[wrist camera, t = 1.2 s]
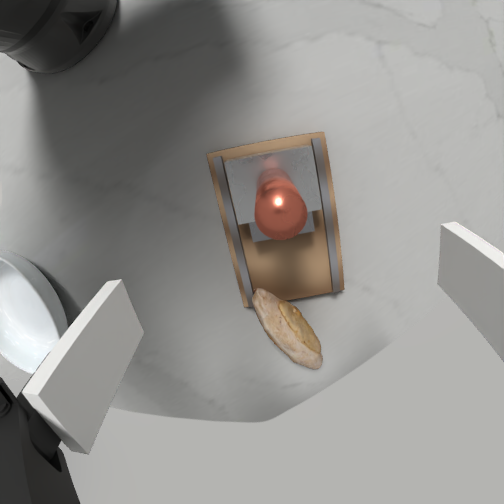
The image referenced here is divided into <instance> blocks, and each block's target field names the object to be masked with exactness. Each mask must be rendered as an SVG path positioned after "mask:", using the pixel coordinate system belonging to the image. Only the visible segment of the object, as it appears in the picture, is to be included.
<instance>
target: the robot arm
mask: <svg viewBox="0 0 504 504" xmlns="http://www.w3.org/2000/svg"><path fill="white" fill-rule="evenodd" d="M116 4H117V0H0V52H2V53H5V54H7V55H8V56H9V57H10V58H12V59H14V60H16V61H17V62H18V63H19V64H20V65H21V66H22V67H23V68H25V69H27V70H29V71H32V72H38V73H45V74H50V73H56V72H60V71H63V70H65V69H67V68H69V67H71V66H73V65H74V64H76V63H77V62H79V61H80V60H81V59H83V58H84V57H85V56H86V55H87V54H88V53H89V52H90V51H91V50H92V49H93V48H94V47H95V46H96V45H97V43H98V42H99V41H100V40H101V38H102V37H103V35H104V34H105V32H106V30H107V29H108V27H109V25H110V23H111V21H112V18H113V16H114V13H115V9H116ZM437 284H438V285H439V286H440V287H441V288H442V290H443V291H444V292H445V293H446V294H447V295H448V296H449V297H450V298H451V299H452V300H453V301H454V303H456V305H457V306H458V307H459V308H460V309H461V310H462V312H463V313H464V314H465V315H466V316H467V317H468V318H469V320H470V321H471V322H472V323H473V324H474V326H475V327H476V328H477V329H478V330H479V331H480V333H481V334H482V335H483V336H484V338H485V339H486V340H487V341H488V343H489V344H490V345H491V346H492V347H493V349H494V350H495V351H496V352H497V354H498V355H499V356H500V358H501V359H502V360H503V362H504V254H503V253H502V252H501V251H500V250H498V249H497V248H495V247H494V246H492V245H491V244H489V243H488V242H486V241H485V240H483V239H482V238H480V237H479V236H477V235H476V234H474V233H473V232H471V231H469V230H468V229H466V228H465V227H463V226H461V225H460V224H458V223H457V222H451V223H445V224H441V236H440V257H439V271H438V283H437ZM143 335H144V331H143V329H142V327H141V324H140V322H139V320H138V317H137V315H136V313H135V310H134V308H133V306H132V303H131V301H130V298H129V296H128V293H127V291H126V288H125V286H124V283H123V281H122V279H120V280H114V281H107V282H106V283H105V285H104V286H103V287H102V288H101V289H100V290H99V292H98V293H97V294H96V295H95V296H94V298H93V299H92V300H91V301H90V302H89V304H88V305H87V306H86V307H85V308H84V310H83V311H82V312H81V313H80V315H79V316H78V317H77V318H76V319H75V321H74V322H73V323H72V324H71V326H70V327H69V328H68V330H67V331H66V332H65V333H64V335H63V336H62V337H61V339H60V340H59V341H58V342H57V344H56V345H55V346H54V348H53V349H52V350H51V351H50V352H49V353H48V354H47V356H46V357H45V358H44V360H43V361H42V362H41V363H42V364H41V365H39V367H38V368H37V369H36V372H34V373H33V375H32V376H31V378H30V379H29V381H28V382H27V383H26V385H25V386H24V388H23V389H22V391H21V392H20V393H19V395H18V397H17V398H16V397H15V396H14V395H13V393H12V392H11V390H10V389H9V388H8V386H7V385H6V384H5V382H4V381H3V379H2V378H1V377H0V504H80V501H79V499H78V496H77V494H76V491H75V488H74V485H73V482H72V479H71V476H70V473H69V470H68V467H67V463H66V460H65V457H64V454H63V452H62V450H61V449H60V448H59V447H58V446H59V444H60V442H61V440H62V441H63V443H64V444H65V445H66V446H67V447H68V448H69V449H70V450H71V451H74V452H79V453H84V454H89V453H90V451H91V448H92V446H93V444H94V441H95V438H96V437H97V434H98V432H99V429H100V427H101V425H102V422H103V420H104V418H105V416H106V413H107V411H108V409H109V407H110V404H111V402H112V400H113V398H114V396H115V393H116V391H117V389H118V387H119V385H120V383H121V380H122V378H123V376H124V374H125V372H126V370H127V368H128V366H129V363H130V361H131V359H132V357H133V355H134V353H135V351H136V349H137V347H138V345H139V343H140V341H141V339H142V337H143Z"/></svg>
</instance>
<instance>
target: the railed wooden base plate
mask: <svg viewBox="0 0 504 504" xmlns="http://www.w3.org/2000/svg"><path fill="white" fill-rule="evenodd" d="M301 145H310V146H312V150H313V155H314V161H315V167H316V173H317V179H318V185H319V191H320V198H321V205H322V209H321V210H315V211H312V215H313V222H314V229H315V231H313V232H307V233H302V234H297V235H296V236H294V237H292V238H289V239H286V240H276V239H269V240H263V241H258V242H253V240H252V235H251V231H250V226H249V223H245V224H240V225H238V221H237V217H236V212H235V208H234V204H233V199H232V195H231V191H230V186H229V182H228V178H227V173H226V169H225V165H224V162H225V161H226V160H228V159H232V158H237V157H242V156H247V155H252V154H257V153H262V152H267V151H272V150H278V149H283V148H289V147H295V146H301ZM206 155H207V159H208V163H209V167H210V172H211V176H212V180H213V184H214V188H215V193H216V197H217V201H218V205H219V209H220V213H221V217H222V221H223V225H224V229H225V233H226V237H227V241H228V245H229V249H230V253H231V257H232V261H233V265H234V269H235V273H236V277H237V281H238V285H239V289H240V293H241V297H242V300H243V304H244V307H254V305H253V302H252V295H253V290H254V289H257V288H261V289H264V290H266V291H268V292H270V293H272V294H273V295H275V296H276V297H277V298H279V299H280V300H285V301H286V300H292V299H298V298H303V297H309V296H314V295H319V294H325V293H330V292H339V291H340V290H344V277H343V266H342V255H341V245H340V236H339V227H338V219H337V211H336V203H335V196H334V189H333V182H332V176H331V169H330V163H329V157H328V151H327V145H326V139H325V134H324V132H316V133H309V134H303V135H297V136H291V137H285V138H279V139H274V140H268V141H263V142H258V143H253V144H248V145H243V146H238V147H234V148H229V149H224V150H220V151H216V152H211V153H208V154H206Z"/></svg>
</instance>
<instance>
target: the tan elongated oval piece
mask: <svg viewBox="0 0 504 504" xmlns="http://www.w3.org/2000/svg"><path fill="white" fill-rule="evenodd" d="M252 302H253V305H254V308H255V310H256V314H257V316H258V319H259V321H260V323H261V325H262V326H263V328H264V330H265V332H266V333H267V335H268V336H269V338H270V339H271V340H272V341H273V342H274V344H275V345H277V346H278V347H279V348H280V350H282V351H283V352H284V353H285V354H286V355H288V356H289V358H290V359H291V360H292V361H293V362H295V363H298V364H300V365H303V366H306V367H308V368H312V369H318V368H320V366H321V365H322V360H323V358H322V355H321V345H320V342H319V340H318V338H317V336H316V335H315V333H314V331H313V329H312V327H311V326H310V325H309V324H308V323H307V321H306V320H305V319H304V318H303V317H302V315H301V312H300V311H299V310H298V309H297V308H296V307H295V306H293V305H291V304H290V303H289V302H287V301H285V300H280V299H279V298H277V297H276V296H275V295H273V294H272V293H270V292H268V291H266V290H264V289H261V288H257V289H254V290H253V295H252Z"/></svg>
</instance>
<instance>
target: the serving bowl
mask: <svg viewBox="0 0 504 504" xmlns="http://www.w3.org/2000/svg"><path fill="white" fill-rule="evenodd" d="M67 330H68V324H67V319H66V315H65V312H64V309H63V307H62V304H61V302H60V300H59V298H58V296H57V294H56V292H55V290H54V289H53V287H52V286H51V284H50V283H49V281H48V280H47V279H46V277H45V276H44V275H43V274H42V273H41V272H40V271H39V270H38V269H37V268H36V267H35V266H34V265H33V264H32V263H31V262H29V261H28V260H26V259H25V258H23V257H22V256H20V255H18V254H15V253H13V252H10V251H5V250H0V354H1V355H2V356H3V357H5V358H6V359H7V360H8V361H9V362H11V363H12V364H13V365H15V366H16V367H18V368H20V369H21V370H23V371H25V372H28V373H30V374H33V373H34V372H36V369H37V368H38V367H39V365H41V364H42V363H41V362H42V361H43V360H44V358H45V357H46V356H47V354H48V353H49V352H50V351H51V350H52V349H53V348H54V346H55V345H56V344H57V342H58V341H59V340H60V339H61V337H62V336H63V335H64V333H65V332H66V331H67Z"/></svg>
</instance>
